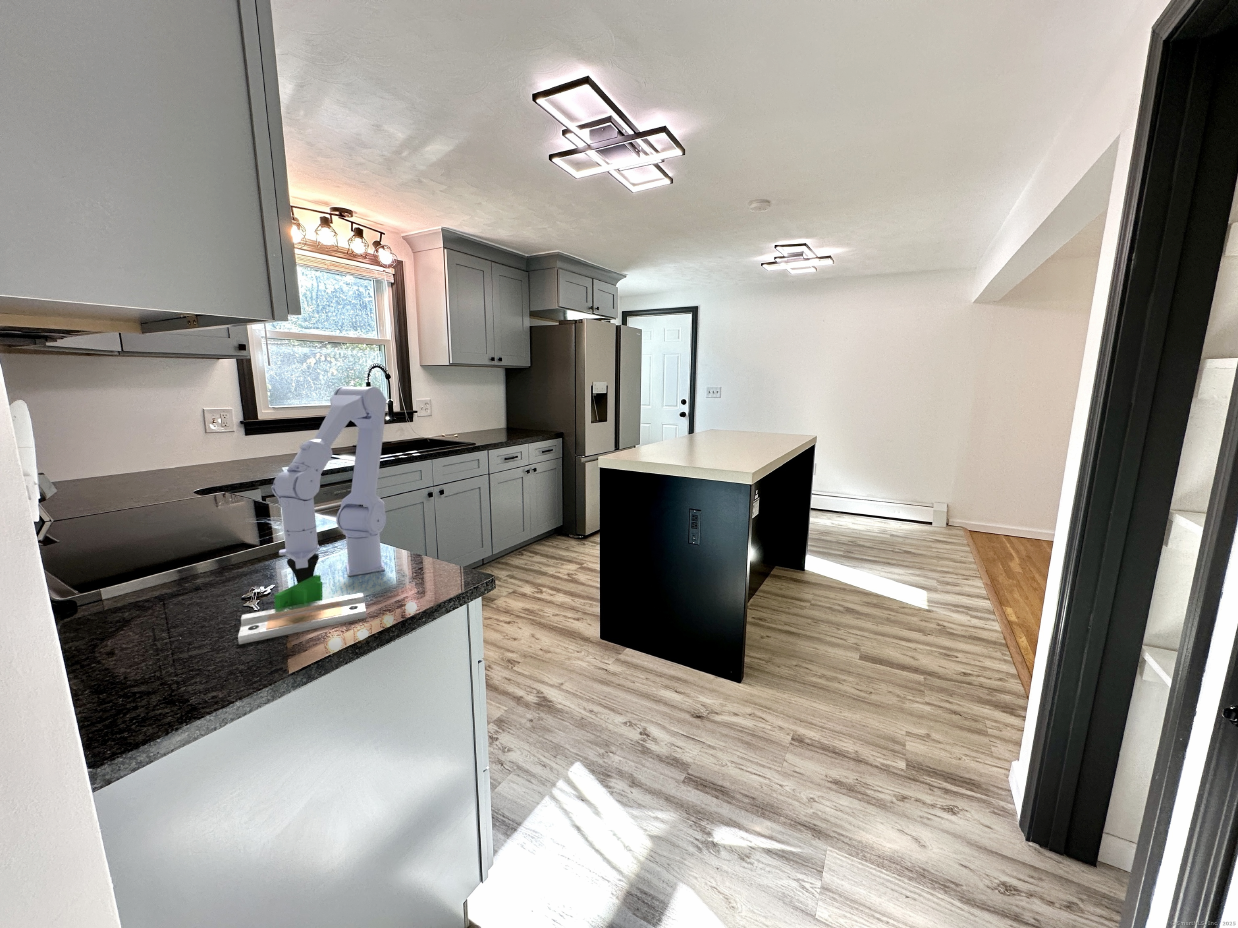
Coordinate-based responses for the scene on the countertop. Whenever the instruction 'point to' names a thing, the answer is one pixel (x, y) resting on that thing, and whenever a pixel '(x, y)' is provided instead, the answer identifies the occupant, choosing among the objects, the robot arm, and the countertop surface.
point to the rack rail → (301, 617)
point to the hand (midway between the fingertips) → (306, 589)
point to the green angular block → (300, 593)
